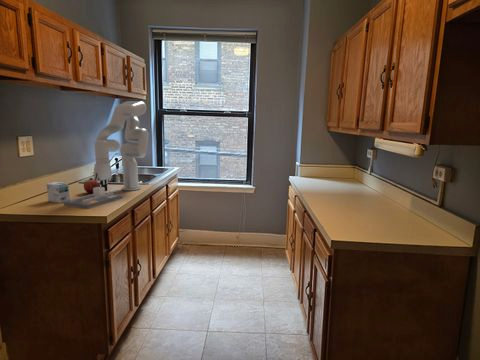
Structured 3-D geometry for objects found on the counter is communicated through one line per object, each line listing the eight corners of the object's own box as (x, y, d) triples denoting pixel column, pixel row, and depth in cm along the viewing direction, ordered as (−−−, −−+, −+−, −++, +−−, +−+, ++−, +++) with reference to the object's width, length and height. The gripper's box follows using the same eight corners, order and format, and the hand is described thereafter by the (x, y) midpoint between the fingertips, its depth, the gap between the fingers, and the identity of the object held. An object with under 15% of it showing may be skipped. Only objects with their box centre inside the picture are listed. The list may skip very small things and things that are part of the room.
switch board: (99, 195, 204) (99, 190, 203) (122, 198, 198) (121, 192, 197) (63, 205, 180) (63, 199, 180) (88, 208, 174) (87, 202, 173)
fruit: (101, 193, 209) (100, 178, 207) (84, 195, 205) (83, 179, 203) (100, 190, 218) (99, 176, 217) (83, 192, 214) (82, 177, 212)
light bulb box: (70, 200, 191) (68, 182, 189) (60, 203, 185) (58, 184, 183) (58, 198, 195) (56, 181, 193) (47, 201, 189) (45, 183, 187)
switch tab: (98, 195, 195) (98, 186, 194) (105, 195, 193) (104, 187, 192) (93, 196, 191) (92, 187, 191) (100, 197, 190) (99, 188, 189)
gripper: (106, 159, 201) (108, 188, 204) (87, 162, 187) (90, 192, 190) (116, 160, 198) (118, 189, 201) (97, 162, 184) (99, 194, 188)
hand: (104, 190), depth 196 cm, fingers closed
